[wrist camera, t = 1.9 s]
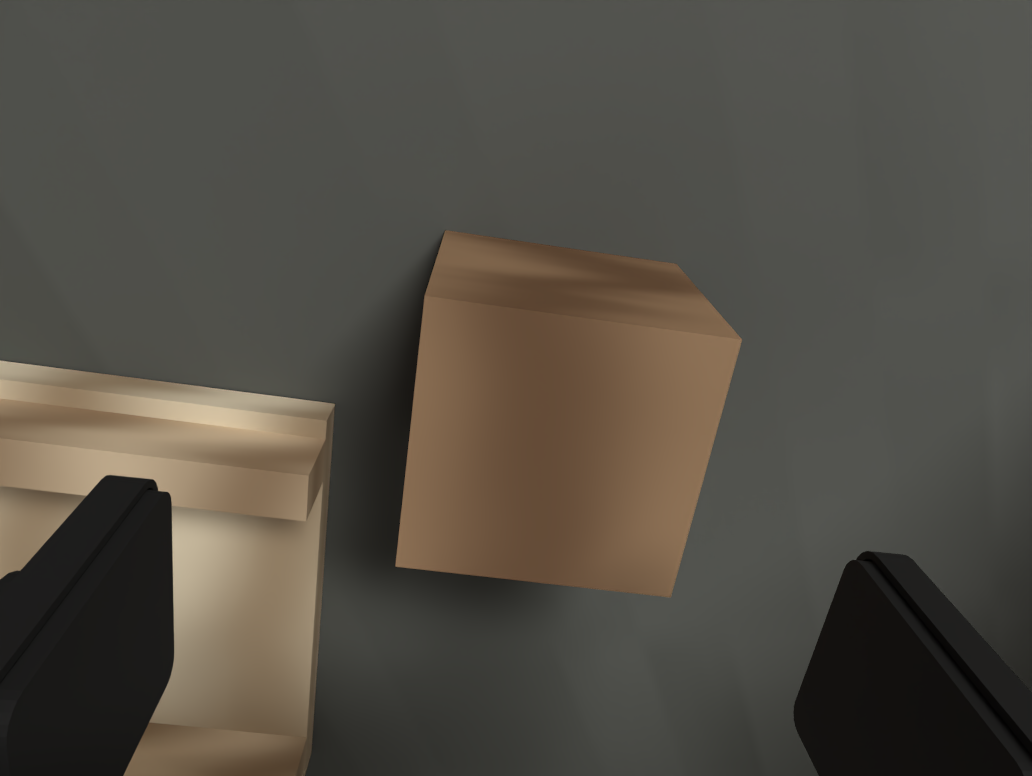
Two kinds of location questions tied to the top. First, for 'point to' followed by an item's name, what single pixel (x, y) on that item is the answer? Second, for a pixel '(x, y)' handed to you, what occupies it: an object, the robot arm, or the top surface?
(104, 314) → the top surface
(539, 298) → the walnut block
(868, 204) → the top surface
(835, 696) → the robot arm
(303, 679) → the board
